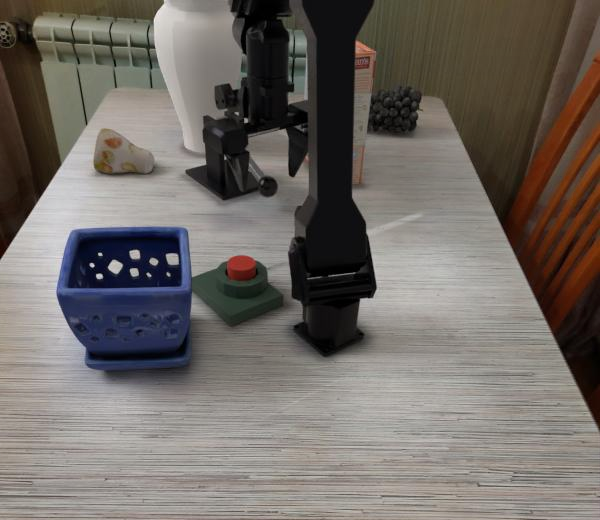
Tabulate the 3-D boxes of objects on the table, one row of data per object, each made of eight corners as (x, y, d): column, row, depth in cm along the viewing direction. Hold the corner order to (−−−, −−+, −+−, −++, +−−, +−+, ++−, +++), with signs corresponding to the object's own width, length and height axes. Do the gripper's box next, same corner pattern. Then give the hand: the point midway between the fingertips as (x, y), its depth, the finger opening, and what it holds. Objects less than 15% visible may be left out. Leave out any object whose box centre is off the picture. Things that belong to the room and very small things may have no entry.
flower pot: (198, 308, 77) (189, 222, 68) (200, 378, 67) (191, 288, 59) (90, 314, 75) (68, 226, 67) (77, 386, 66) (50, 294, 57)
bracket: (268, 190, 101) (268, 123, 94) (223, 203, 97) (219, 135, 90) (229, 164, 108) (227, 101, 100) (185, 176, 104) (179, 110, 96)
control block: (284, 304, 78) (285, 281, 76) (231, 327, 74) (229, 303, 72) (242, 270, 83) (241, 247, 81) (189, 288, 80) (187, 265, 77)
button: (261, 276, 77) (261, 264, 76) (237, 285, 75) (237, 273, 74) (245, 264, 79) (245, 252, 78) (222, 272, 77) (221, 260, 76)
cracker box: (362, 186, 104) (378, 50, 89) (330, 191, 102) (341, 53, 87) (330, 154, 113) (339, 26, 98) (300, 158, 111) (305, 28, 97)
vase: (153, 140, 114) (129, -49, 94) (222, 127, 120) (213, -53, 100) (187, 169, 106) (169, -31, 85) (259, 153, 112) (258, -38, 92)
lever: (279, 199, 95) (284, 183, 92) (262, 204, 93) (266, 188, 91) (226, 129, 99) (229, 112, 96) (209, 133, 97) (212, 116, 95)
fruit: (348, 82, 115) (428, 85, 114) (348, 84, 122) (422, 87, 122) (345, 132, 119) (422, 135, 118) (345, 131, 126) (417, 134, 126)
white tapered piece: (157, 183, 102) (118, 134, 94) (113, 200, 106) (72, 155, 98) (166, 155, 106) (129, 106, 98) (123, 173, 110) (84, 127, 102)
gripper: (287, 48, 90) (285, 152, 101) (177, 67, 82) (188, 178, 93) (335, 68, 84) (327, 176, 95) (221, 90, 76) (227, 207, 87)
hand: (267, 183), depth 93 cm, fingers open, 9 cm apart
